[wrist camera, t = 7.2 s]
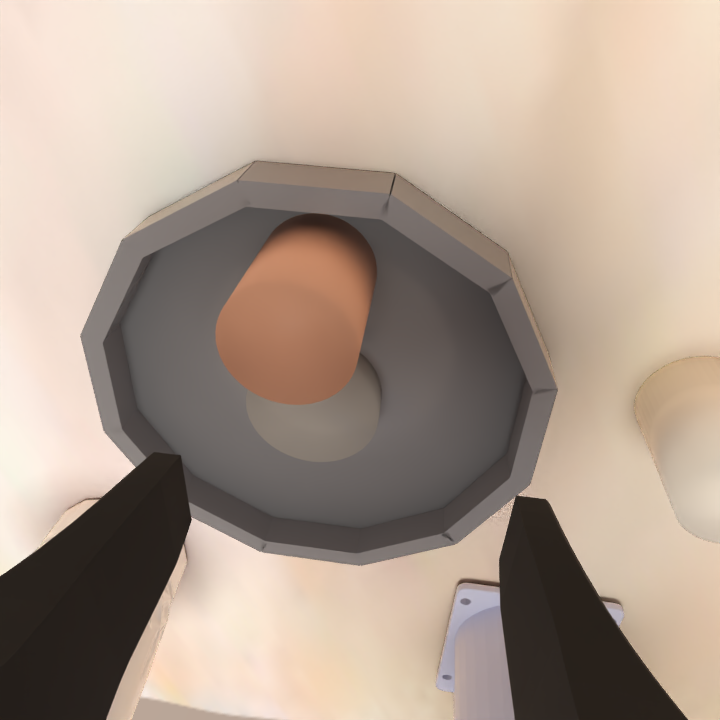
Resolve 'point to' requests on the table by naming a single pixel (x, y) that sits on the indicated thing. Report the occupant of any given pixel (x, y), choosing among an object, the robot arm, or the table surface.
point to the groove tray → (358, 397)
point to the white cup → (150, 639)
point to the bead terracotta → (300, 311)
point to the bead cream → (686, 439)
